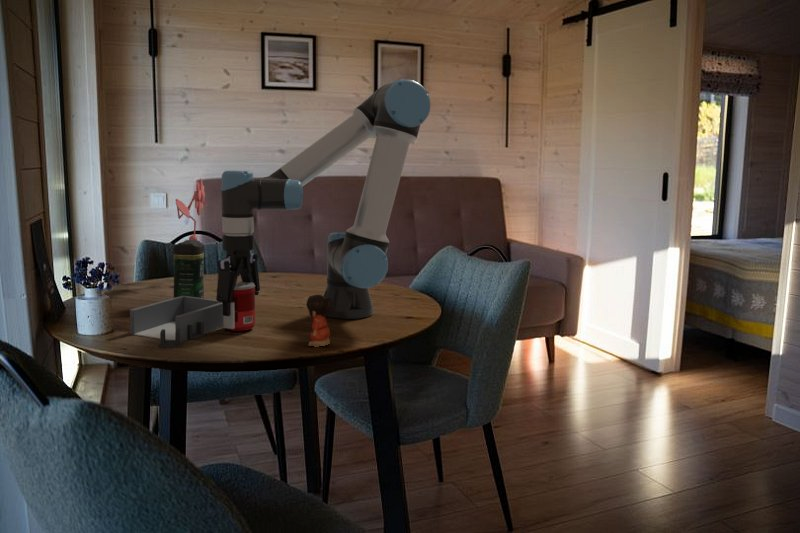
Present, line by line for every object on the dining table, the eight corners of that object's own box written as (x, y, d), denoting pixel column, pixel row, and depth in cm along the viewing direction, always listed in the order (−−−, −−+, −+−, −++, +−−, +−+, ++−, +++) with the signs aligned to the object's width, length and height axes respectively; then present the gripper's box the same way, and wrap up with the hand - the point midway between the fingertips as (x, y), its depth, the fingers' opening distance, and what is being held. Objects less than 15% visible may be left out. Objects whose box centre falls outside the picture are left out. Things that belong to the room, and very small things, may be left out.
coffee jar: (199, 308, 188) (198, 243, 185) (170, 307, 187) (169, 242, 184) (207, 300, 197) (206, 238, 194) (180, 300, 197) (179, 237, 194)
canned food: (257, 323, 171) (257, 281, 169) (251, 331, 163) (251, 287, 161) (227, 322, 171) (226, 280, 169) (220, 331, 163) (219, 287, 161)
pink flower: (169, 289, 210) (170, 178, 205) (185, 275, 235) (186, 176, 230) (219, 291, 212) (221, 181, 207) (229, 277, 237) (232, 178, 232)
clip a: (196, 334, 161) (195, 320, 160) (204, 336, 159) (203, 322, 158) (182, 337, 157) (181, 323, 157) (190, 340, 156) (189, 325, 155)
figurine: (331, 340, 160) (332, 292, 158) (333, 347, 154) (334, 297, 153) (305, 341, 159) (306, 292, 157) (306, 347, 153) (307, 297, 151)
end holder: (229, 324, 171) (229, 301, 170) (179, 342, 154) (179, 317, 153) (183, 317, 176) (182, 295, 175) (130, 334, 158) (129, 309, 158)
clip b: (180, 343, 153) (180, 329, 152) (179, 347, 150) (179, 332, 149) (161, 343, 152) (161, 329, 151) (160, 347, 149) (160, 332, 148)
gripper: (248, 229, 174) (250, 313, 178) (198, 237, 155) (200, 332, 158) (273, 230, 171) (274, 316, 175) (225, 239, 152) (227, 335, 156)
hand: (239, 324), depth 167 cm, fingers closed on canned food, 8 cm apart
